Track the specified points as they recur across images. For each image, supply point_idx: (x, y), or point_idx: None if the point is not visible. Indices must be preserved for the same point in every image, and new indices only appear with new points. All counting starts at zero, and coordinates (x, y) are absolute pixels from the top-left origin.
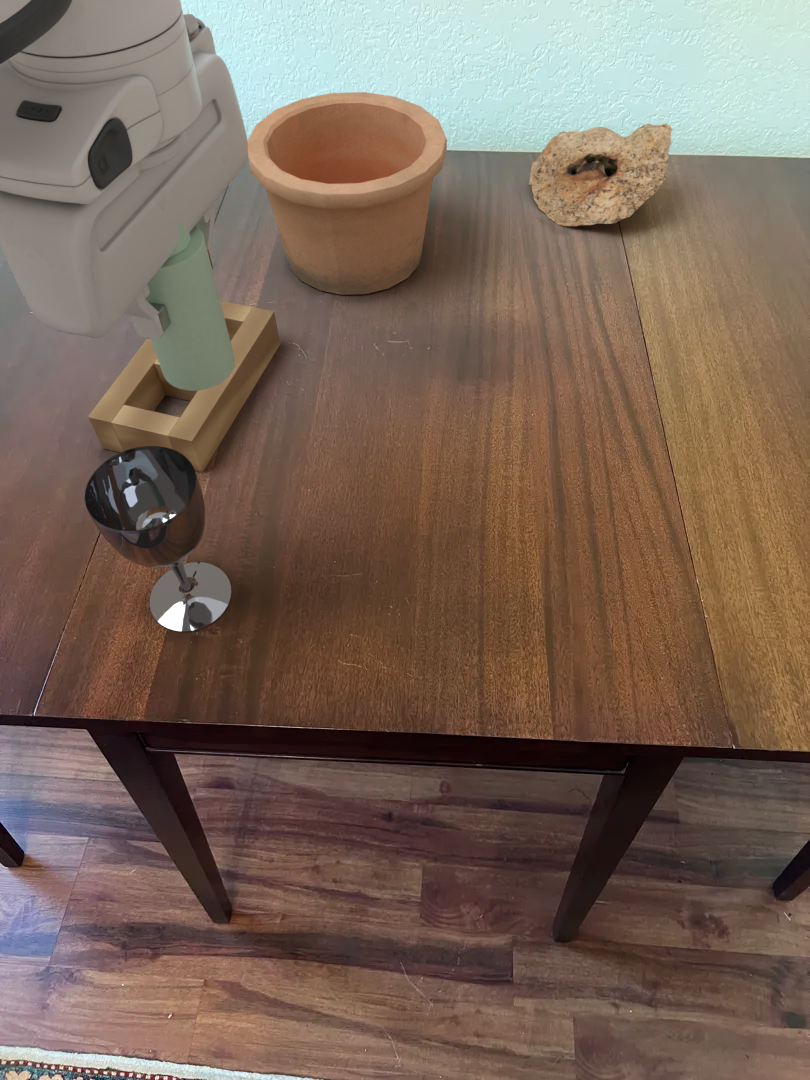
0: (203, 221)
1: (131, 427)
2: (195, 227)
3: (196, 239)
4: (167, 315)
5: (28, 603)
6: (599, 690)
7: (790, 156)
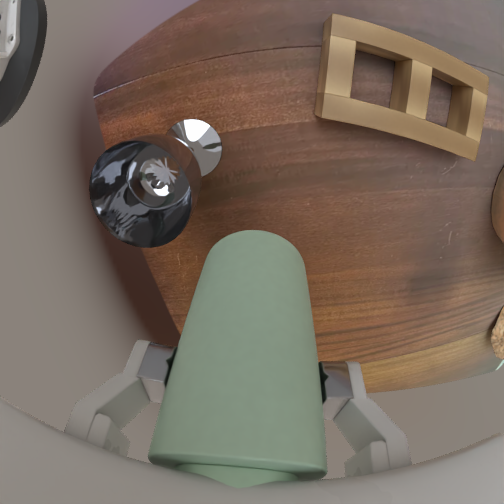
0: (346, 462)
1: (328, 55)
2: None
3: None
4: None
5: (156, 41)
6: None
7: (497, 368)
